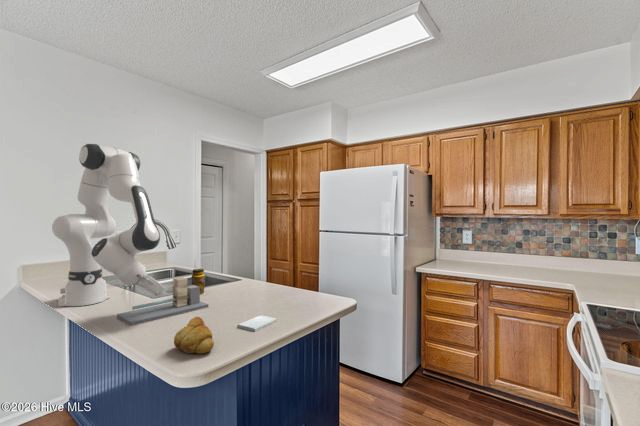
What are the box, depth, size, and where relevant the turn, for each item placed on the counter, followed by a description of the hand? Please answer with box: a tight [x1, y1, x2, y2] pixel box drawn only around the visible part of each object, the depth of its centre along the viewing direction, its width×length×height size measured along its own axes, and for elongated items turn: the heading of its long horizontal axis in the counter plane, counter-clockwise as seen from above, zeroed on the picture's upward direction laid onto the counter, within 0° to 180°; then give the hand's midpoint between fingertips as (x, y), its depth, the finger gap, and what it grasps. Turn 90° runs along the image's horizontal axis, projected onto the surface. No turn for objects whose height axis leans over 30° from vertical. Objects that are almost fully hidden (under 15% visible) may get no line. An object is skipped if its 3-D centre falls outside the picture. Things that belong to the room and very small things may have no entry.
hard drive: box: [236, 314, 278, 332], centre depth 114 cm, size 2×8×12 cm
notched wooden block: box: [172, 276, 188, 307], centre depth 132 cm, size 4×4×11 cm
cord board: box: [116, 284, 209, 327], centre depth 127 cm, size 14×30×8 cm, turn 140°
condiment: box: [191, 268, 207, 296], centre depth 156 cm, size 7×8×12 cm
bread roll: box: [173, 316, 215, 355], centre depth 93 cm, size 13×10×8 cm
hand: (159, 294), depth 125 cm, fingers closed
